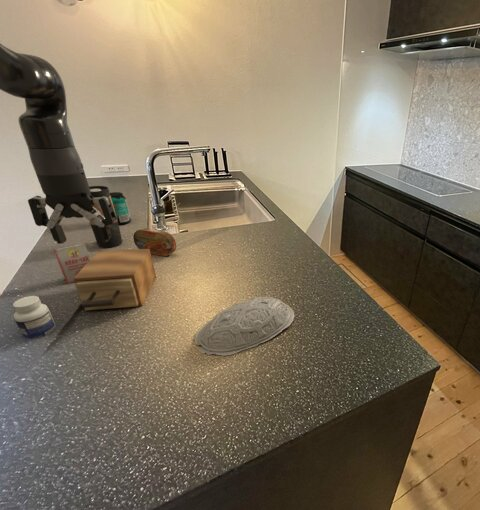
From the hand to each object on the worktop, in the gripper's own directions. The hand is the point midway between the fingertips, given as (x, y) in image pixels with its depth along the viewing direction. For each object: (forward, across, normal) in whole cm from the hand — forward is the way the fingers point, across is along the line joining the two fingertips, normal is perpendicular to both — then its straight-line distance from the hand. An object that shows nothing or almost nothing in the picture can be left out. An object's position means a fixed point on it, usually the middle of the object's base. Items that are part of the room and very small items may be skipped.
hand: (84, 241), depth 69 cm
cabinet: (+19, +1, +7) cm, 20 cm away
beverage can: (+19, -17, +61) cm, 66 cm away
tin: (+19, +4, +31) cm, 37 cm away
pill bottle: (+19, -9, -9) cm, 23 cm away
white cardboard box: (+19, -13, +17) cm, 29 cm away
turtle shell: (+20, +35, -12) cm, 42 cm away
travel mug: (+19, -14, +40) cm, 46 cm away
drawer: (+18, +1, +3) cm, 18 cm away
